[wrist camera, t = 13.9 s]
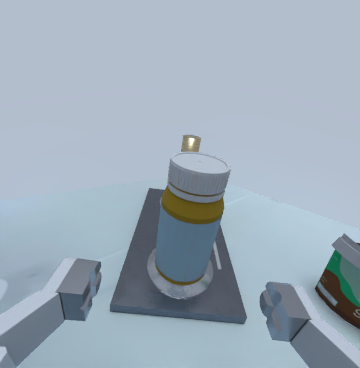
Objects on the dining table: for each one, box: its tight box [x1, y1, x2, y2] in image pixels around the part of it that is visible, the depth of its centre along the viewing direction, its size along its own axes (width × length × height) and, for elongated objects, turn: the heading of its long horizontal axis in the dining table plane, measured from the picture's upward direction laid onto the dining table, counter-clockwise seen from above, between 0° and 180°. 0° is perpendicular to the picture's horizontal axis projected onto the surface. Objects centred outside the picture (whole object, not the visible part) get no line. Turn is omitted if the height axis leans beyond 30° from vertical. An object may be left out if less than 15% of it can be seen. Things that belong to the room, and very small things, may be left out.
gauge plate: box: [110, 135, 247, 324], centre depth 30 cm, size 15×27×15 cm, turn 179°
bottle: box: [155, 152, 231, 285], centre depth 22 cm, size 7×7×15 cm
